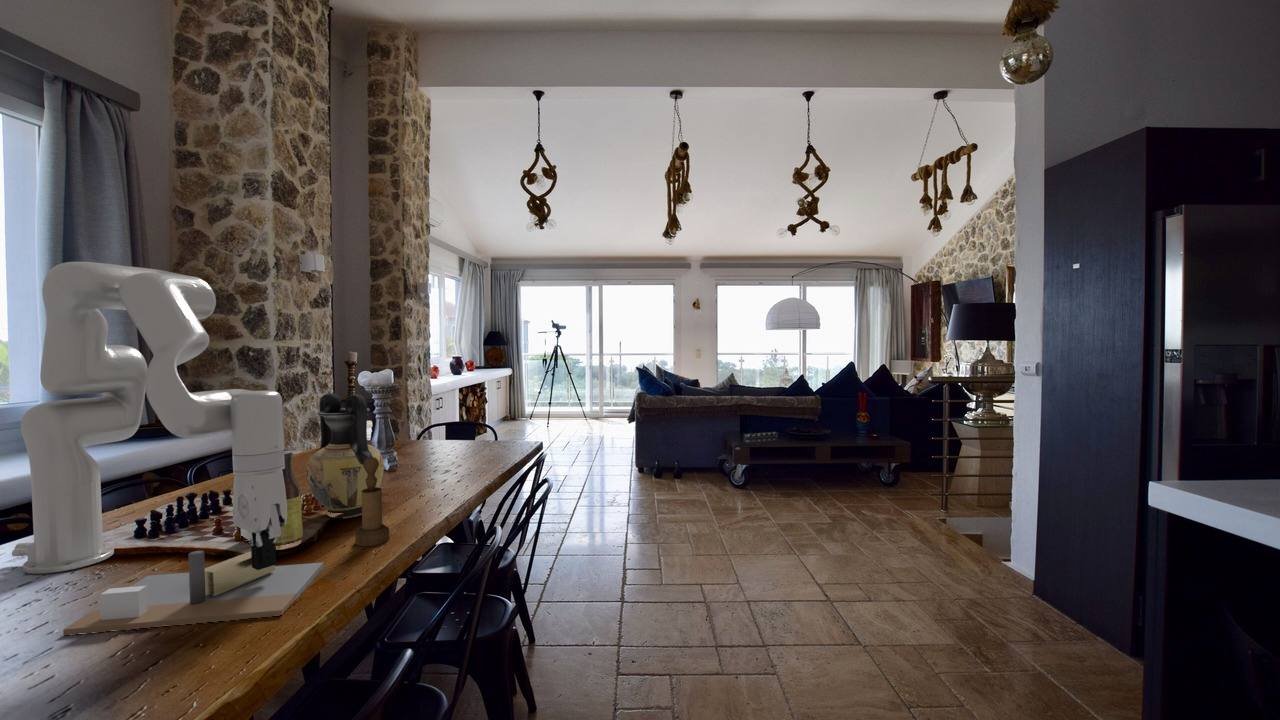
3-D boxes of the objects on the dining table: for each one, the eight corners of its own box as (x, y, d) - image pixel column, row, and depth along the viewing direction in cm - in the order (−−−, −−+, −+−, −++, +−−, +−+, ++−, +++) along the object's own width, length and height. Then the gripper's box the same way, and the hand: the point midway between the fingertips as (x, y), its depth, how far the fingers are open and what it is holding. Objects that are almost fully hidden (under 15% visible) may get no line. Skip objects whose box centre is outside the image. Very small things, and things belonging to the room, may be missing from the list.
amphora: (289, 520, 138) (286, 395, 136) (345, 501, 154) (342, 389, 152) (349, 527, 132) (346, 397, 131) (400, 506, 149) (398, 390, 147)
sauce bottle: (309, 542, 123) (307, 449, 122) (289, 553, 117) (286, 455, 116) (281, 541, 124) (278, 449, 123) (259, 552, 118) (256, 455, 117)
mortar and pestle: (367, 548, 119) (365, 462, 118) (349, 542, 123) (347, 458, 122) (395, 539, 125) (394, 456, 124) (377, 533, 128) (375, 453, 128)
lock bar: (213, 596, 94) (213, 572, 94) (200, 594, 95) (199, 570, 95) (275, 570, 105) (274, 548, 104) (262, 568, 106) (262, 546, 105)
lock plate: (63, 636, 84) (60, 575, 84) (147, 581, 104) (145, 531, 103) (282, 616, 90) (280, 559, 90) (323, 567, 109) (322, 520, 109)
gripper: (215, 462, 101) (220, 565, 102) (255, 471, 93) (260, 583, 93) (262, 454, 107) (267, 551, 108) (303, 462, 99) (308, 567, 100)
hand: (264, 566), depth 101 cm, fingers closed
